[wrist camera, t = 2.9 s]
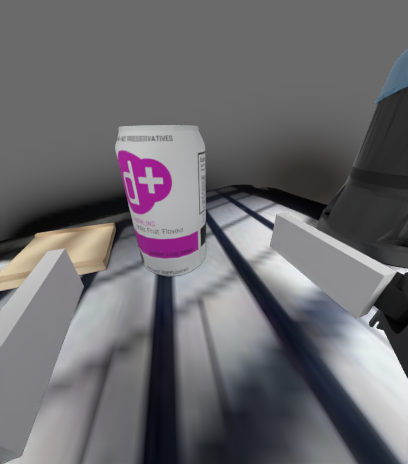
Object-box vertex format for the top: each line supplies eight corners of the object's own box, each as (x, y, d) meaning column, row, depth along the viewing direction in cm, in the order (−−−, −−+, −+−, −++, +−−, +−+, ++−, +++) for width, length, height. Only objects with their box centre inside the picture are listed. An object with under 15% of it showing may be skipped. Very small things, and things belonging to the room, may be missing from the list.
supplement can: (177, 291, 18) (156, 123, 11) (130, 263, 22) (91, 127, 15) (217, 253, 24) (221, 126, 17) (173, 236, 28) (161, 128, 21)
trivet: (116, 229, 31) (114, 222, 30) (106, 269, 21) (103, 261, 21) (41, 240, 28) (37, 233, 27) (-8, 292, 19) (-15, 283, 18)
